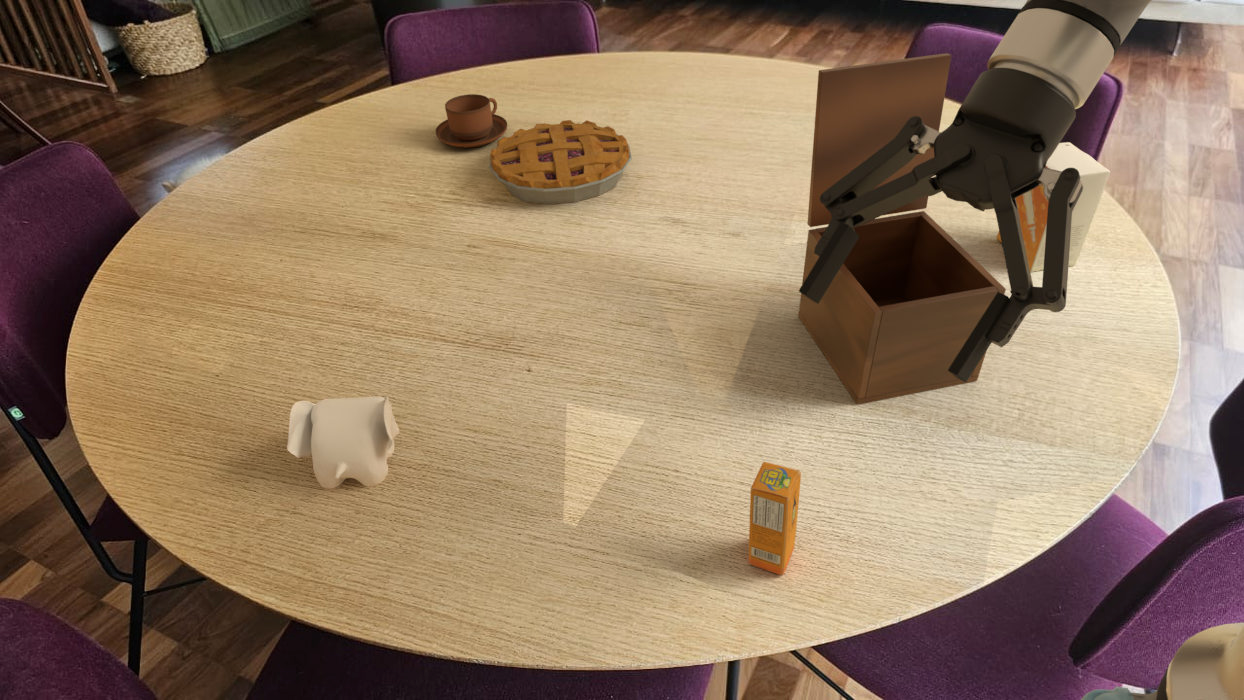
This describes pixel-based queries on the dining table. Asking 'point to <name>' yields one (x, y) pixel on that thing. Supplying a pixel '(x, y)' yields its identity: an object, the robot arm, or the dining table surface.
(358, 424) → the elephant figurine
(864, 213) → the robot arm
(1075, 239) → the small box
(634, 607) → the dining table surface
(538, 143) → the pie
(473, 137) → the cup and saucer
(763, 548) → the supplement box
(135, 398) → the dining table surface
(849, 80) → the lid
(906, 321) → the chest
